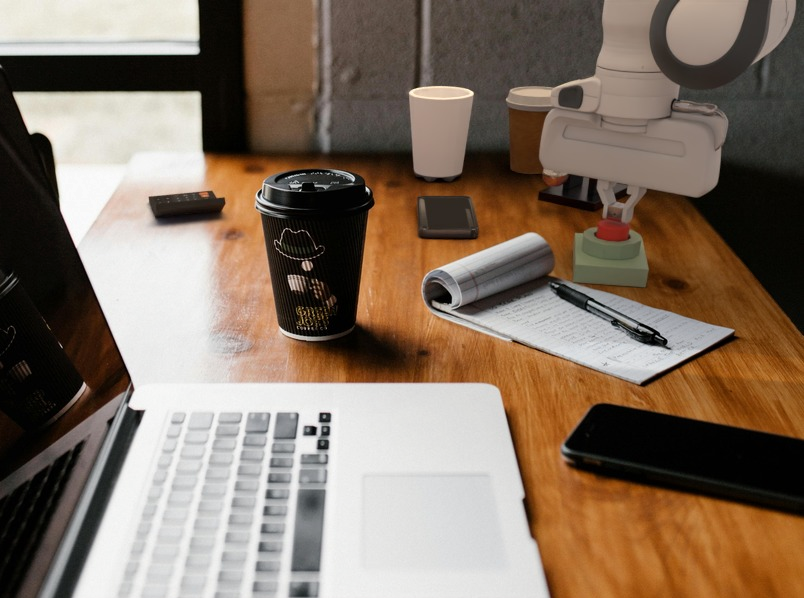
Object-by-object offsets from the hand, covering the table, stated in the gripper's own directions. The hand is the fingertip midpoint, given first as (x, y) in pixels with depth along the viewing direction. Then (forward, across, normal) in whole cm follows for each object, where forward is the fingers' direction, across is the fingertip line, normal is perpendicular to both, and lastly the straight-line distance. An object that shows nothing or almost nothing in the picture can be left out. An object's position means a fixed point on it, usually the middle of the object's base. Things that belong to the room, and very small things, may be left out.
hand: (616, 220), depth 100 cm
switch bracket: (+6, +16, -24) cm, 29 cm away
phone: (+6, +25, -1) cm, 26 cm away
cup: (+6, +39, -18) cm, 44 cm away
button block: (+6, 0, 0) cm, 6 cm away
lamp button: (+2, 0, 0) cm, 2 cm away
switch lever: (-1, +16, -20) cm, 25 cm away
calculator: (+5, +56, +19) cm, 59 cm away
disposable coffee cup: (+6, +30, -31) cm, 44 cm away
